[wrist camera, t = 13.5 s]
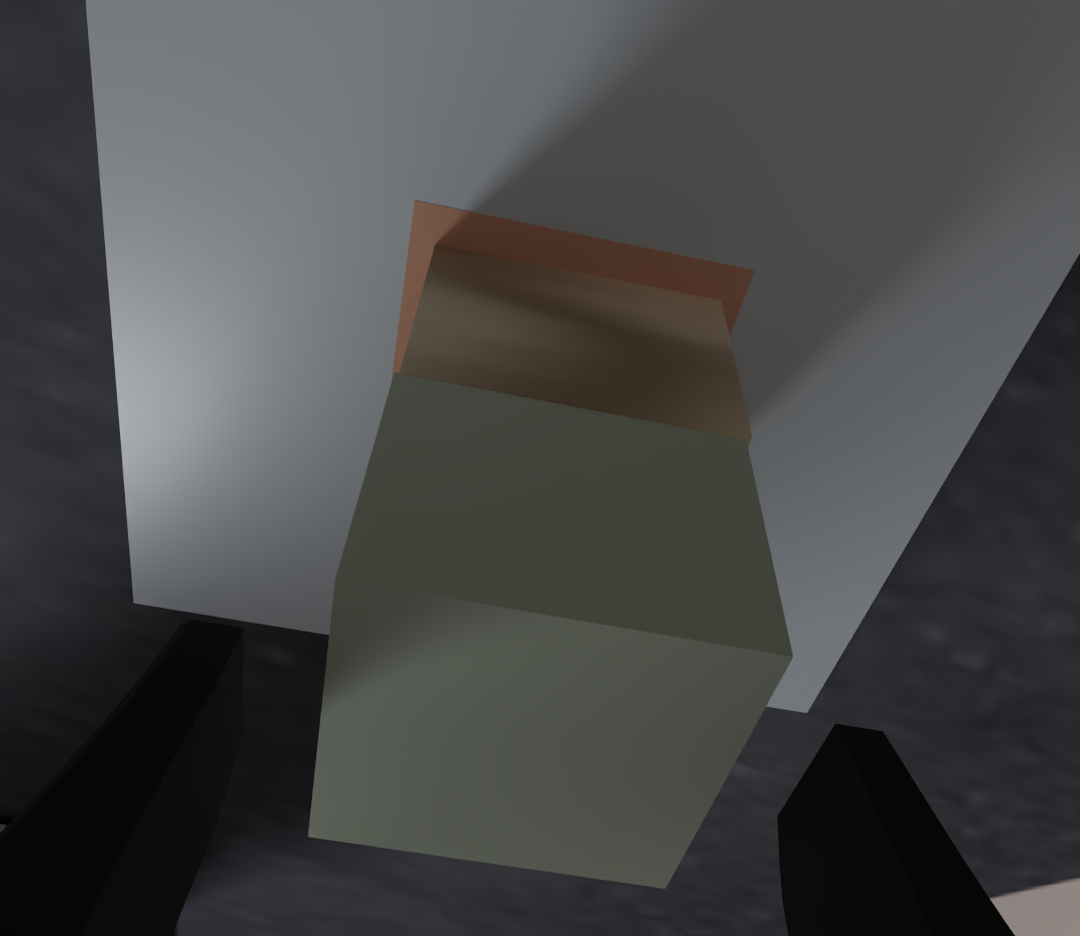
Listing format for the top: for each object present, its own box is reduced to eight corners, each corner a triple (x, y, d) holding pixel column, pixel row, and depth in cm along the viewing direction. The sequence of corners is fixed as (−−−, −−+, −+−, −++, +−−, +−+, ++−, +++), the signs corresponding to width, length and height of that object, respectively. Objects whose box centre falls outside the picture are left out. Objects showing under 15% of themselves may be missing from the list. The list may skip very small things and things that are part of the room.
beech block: (403, 472, 20) (367, 619, 16) (434, 244, 16) (399, 371, 13) (646, 514, 20) (658, 665, 17) (721, 300, 17) (751, 436, 14)
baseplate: (143, 584, 23) (133, 603, 22) (84, -259, 13) (65, -257, 12) (802, 693, 24) (807, 713, 24) (1196, 11, 14) (1217, 22, 14)
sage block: (361, 618, 16) (307, 836, 13) (394, 371, 13) (335, 579, 10) (650, 667, 17) (665, 888, 14) (746, 439, 14) (793, 656, 11)
